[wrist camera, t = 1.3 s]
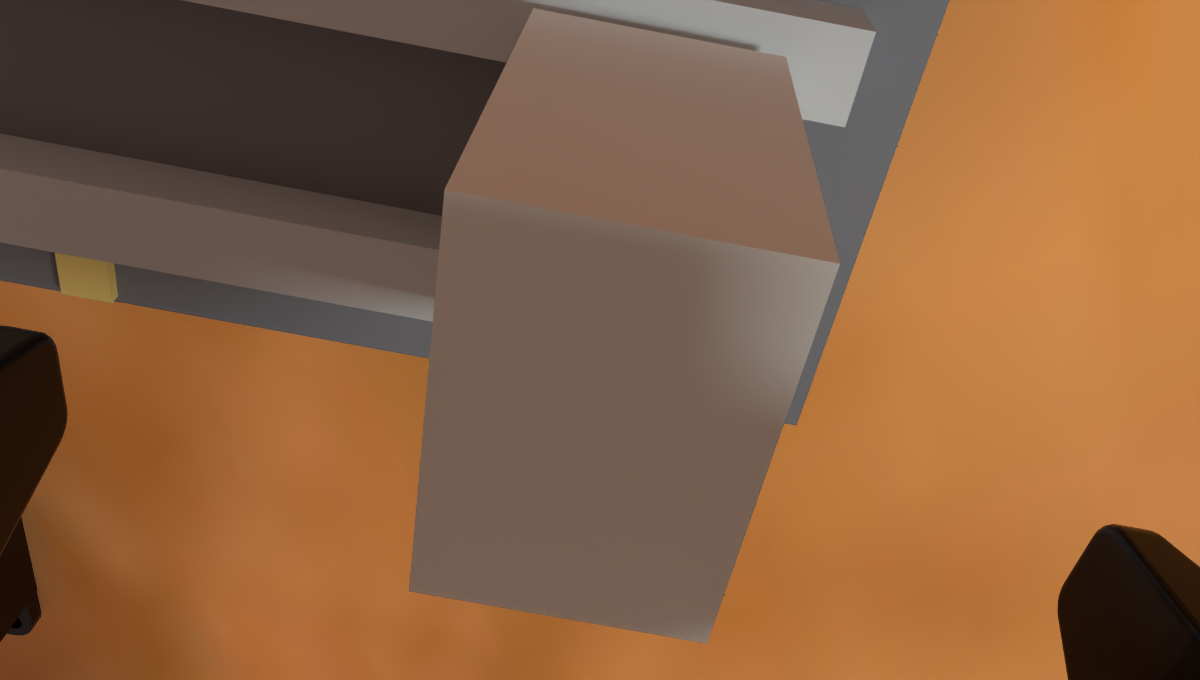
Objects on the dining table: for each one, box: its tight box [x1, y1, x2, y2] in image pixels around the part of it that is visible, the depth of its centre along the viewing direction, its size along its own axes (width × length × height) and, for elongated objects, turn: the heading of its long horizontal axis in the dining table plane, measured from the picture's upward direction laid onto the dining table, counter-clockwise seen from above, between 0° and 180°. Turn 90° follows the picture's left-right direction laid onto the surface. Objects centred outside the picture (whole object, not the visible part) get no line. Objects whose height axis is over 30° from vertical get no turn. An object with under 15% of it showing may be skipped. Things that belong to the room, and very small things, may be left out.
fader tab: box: [409, 8, 840, 643], centre depth 11 cm, size 3×4×6 cm
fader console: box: [0, 0, 949, 425], centre depth 14 cm, size 15×8×4 cm, turn 80°
